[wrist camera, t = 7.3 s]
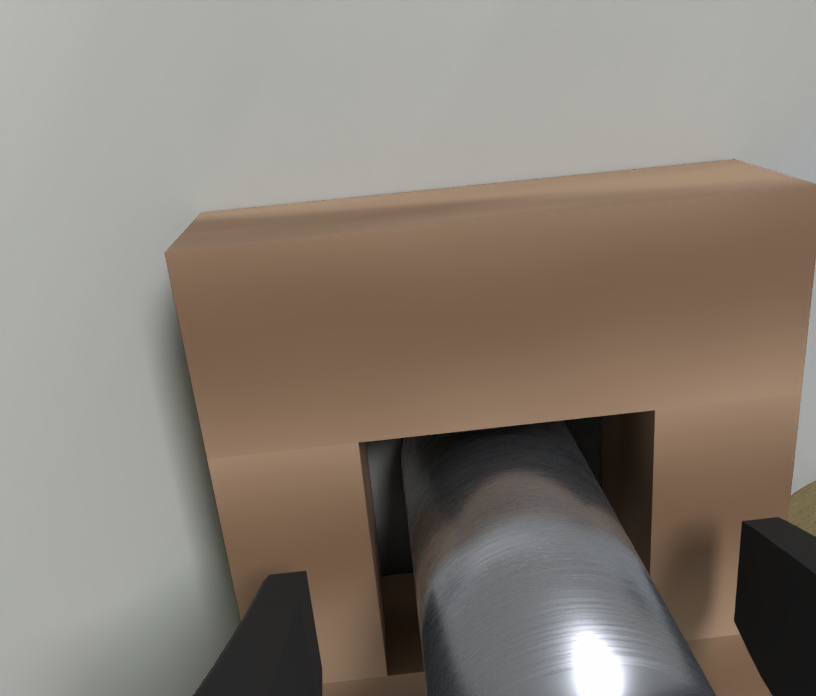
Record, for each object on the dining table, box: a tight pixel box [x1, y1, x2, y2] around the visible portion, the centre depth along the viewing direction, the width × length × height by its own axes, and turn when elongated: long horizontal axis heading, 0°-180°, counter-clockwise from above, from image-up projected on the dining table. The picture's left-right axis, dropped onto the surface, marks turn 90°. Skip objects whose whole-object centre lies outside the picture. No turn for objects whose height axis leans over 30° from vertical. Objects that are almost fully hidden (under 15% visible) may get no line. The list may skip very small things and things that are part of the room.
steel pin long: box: [401, 420, 716, 696], centre depth 13 cm, size 4×4×8 cm
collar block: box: [165, 159, 816, 696], centre depth 15 cm, size 12×10×3 cm
